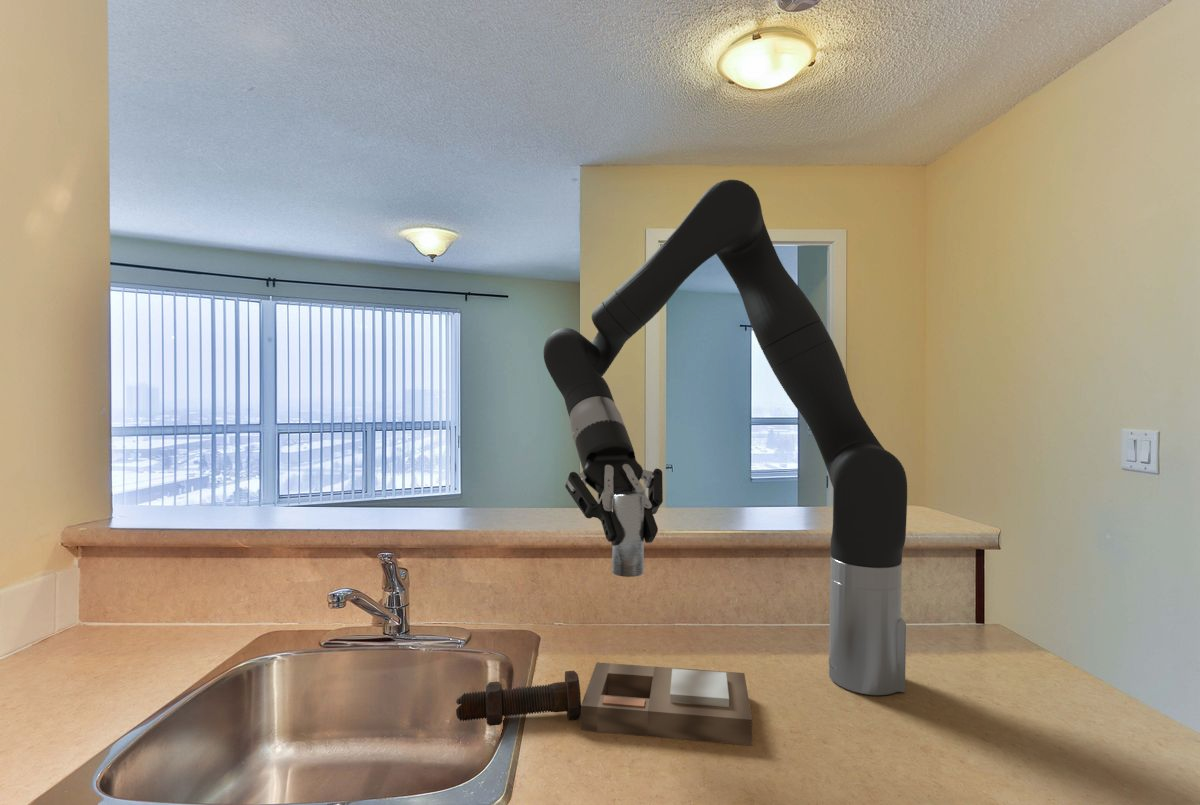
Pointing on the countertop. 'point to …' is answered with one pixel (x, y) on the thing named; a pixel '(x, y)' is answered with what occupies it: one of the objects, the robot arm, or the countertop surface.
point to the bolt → (522, 701)
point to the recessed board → (668, 703)
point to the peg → (629, 534)
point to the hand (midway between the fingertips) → (634, 540)
